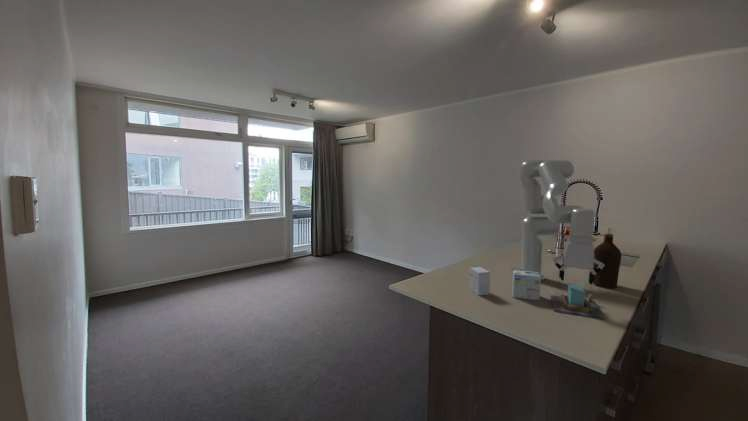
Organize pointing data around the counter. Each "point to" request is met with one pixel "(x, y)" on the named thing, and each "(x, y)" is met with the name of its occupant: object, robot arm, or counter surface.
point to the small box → (479, 281)
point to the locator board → (576, 307)
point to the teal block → (576, 295)
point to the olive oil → (607, 263)
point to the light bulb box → (526, 285)
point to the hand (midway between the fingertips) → (576, 281)
